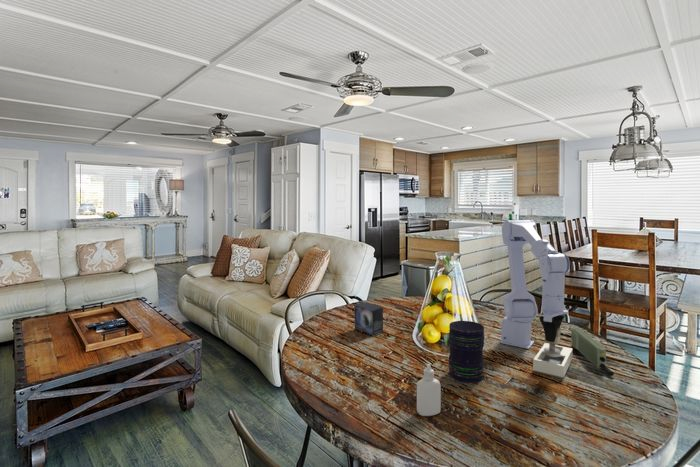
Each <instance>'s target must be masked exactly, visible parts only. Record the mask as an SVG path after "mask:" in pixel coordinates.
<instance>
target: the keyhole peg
mask: <svg viewBox="0 0 700 467" xmlns="http://www.w3.org/2000/svg"><path fill="white" fill-rule="evenodd" d="M560 342H561V328H558V330H557V334H556V339H555V341H554V342H549V341H546V338H545V337H544V343H548V344H549V347H547V348H544V354H545V355H547V356H550V357H560V354H561V351H560V350H558V349H556V348H555V345H558V346H559V344H560Z"/></svg>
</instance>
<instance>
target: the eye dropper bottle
mask: <svg viewBox="0 0 700 467" xmlns="http://www.w3.org/2000/svg"><path fill="white" fill-rule="evenodd" d="M434 376H435V371H434V369H433V368H432V367H431V364H429V363H427V364H426V368H423V377H422V379H420V380H418V381H417V383H416V412H417V413H418V415H420V416H421V417H431V416H435V415H438V414H439V413H440V412H441V409H442V407H441V402H442V401H441V398H442V396H441V393H442V391H441V390H442V389H441V388H442V387H441V383H440V382H441V381H440V380H438V379H437V378H435V377H434Z"/></svg>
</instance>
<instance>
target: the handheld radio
mask: <svg viewBox="0 0 700 467" xmlns="http://www.w3.org/2000/svg"><path fill="white" fill-rule="evenodd" d="M570 334H571V337H570V338H571V339H570V342H571V345H572V346H573V347H574V348H575V349H576V351H578V352H580V354H581V355H583V357H585V358H586V359H587V360H588V361H589V362H590V363H591V364H592V363H593V364H592V365H593V366H594V367H595V368H597V369H600V368H601V370H603V371H605V372H606V374H607V375H608V376H610V377H613V376H614V371H612V370H611V369H610V368H609V367H608V366H607V348H605V347H604V346H603V345H602V344H601V343H599V342H598V341H596V340H595V339H594V338H593V337H591V336H590V335H589V334H587V333H586V332H585V330H582V329H581V328H580V327H579V326H574V327H572V328H571V332H570Z"/></svg>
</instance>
